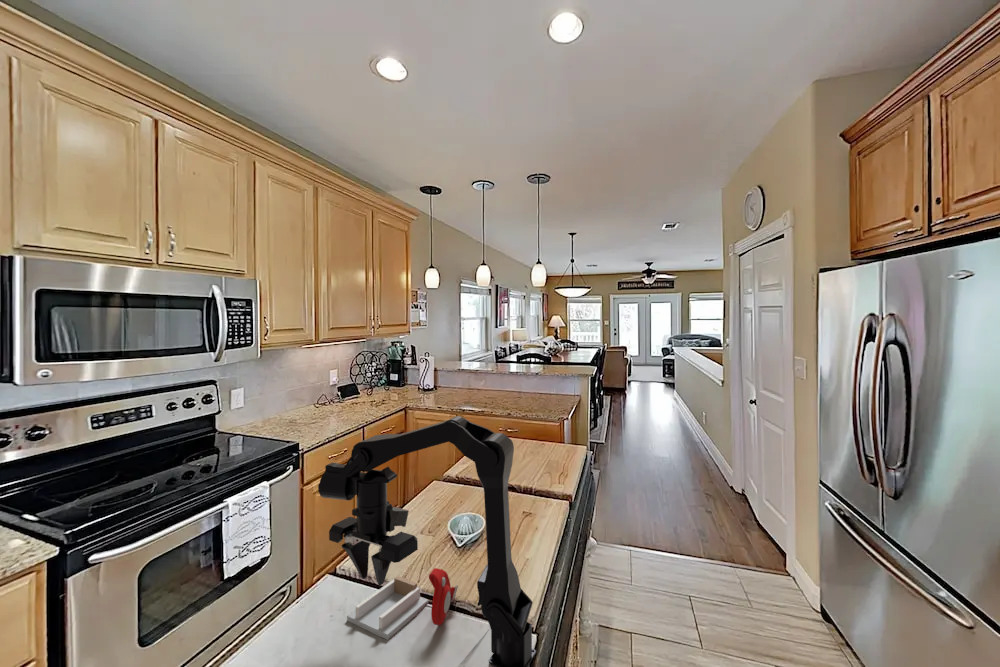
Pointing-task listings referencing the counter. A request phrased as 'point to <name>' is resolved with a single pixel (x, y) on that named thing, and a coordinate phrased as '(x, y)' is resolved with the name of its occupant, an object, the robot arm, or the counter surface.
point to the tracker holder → (441, 595)
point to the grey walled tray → (389, 608)
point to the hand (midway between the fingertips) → (372, 581)
